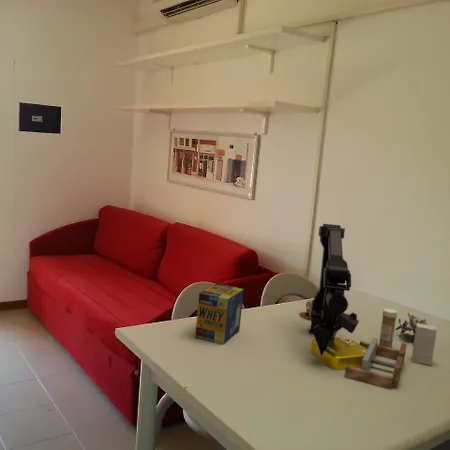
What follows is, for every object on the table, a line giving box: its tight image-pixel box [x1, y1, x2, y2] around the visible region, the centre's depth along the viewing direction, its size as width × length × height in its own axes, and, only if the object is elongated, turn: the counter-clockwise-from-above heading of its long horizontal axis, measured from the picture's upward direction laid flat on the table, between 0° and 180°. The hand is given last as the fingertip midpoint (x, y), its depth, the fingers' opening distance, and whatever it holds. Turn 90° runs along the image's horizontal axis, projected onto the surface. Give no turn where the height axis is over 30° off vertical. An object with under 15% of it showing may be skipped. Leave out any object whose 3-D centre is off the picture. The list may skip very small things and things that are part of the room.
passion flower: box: [394, 312, 428, 338], centre depth 181 cm, size 11×11×12 cm
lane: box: [344, 340, 407, 390], centre depth 152 cm, size 14×25×6 cm, turn 155°
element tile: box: [310, 336, 373, 371], centre depth 158 cm, size 15×15×5 cm
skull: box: [299, 296, 314, 320], centre depth 198 cm, size 12×10×10 cm
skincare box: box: [411, 323, 438, 366], centre depth 160 cm, size 6×4×12 cm
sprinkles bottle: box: [378, 308, 398, 348], centre depth 170 cm, size 5×5×13 cm
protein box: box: [195, 283, 245, 345], centre depth 168 cm, size 10×15×16 cm
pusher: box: [360, 337, 404, 371], centre depth 151 cm, size 10×21×6 cm, turn 155°
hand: (326, 350), depth 159 cm, fingers open, 9 cm apart
